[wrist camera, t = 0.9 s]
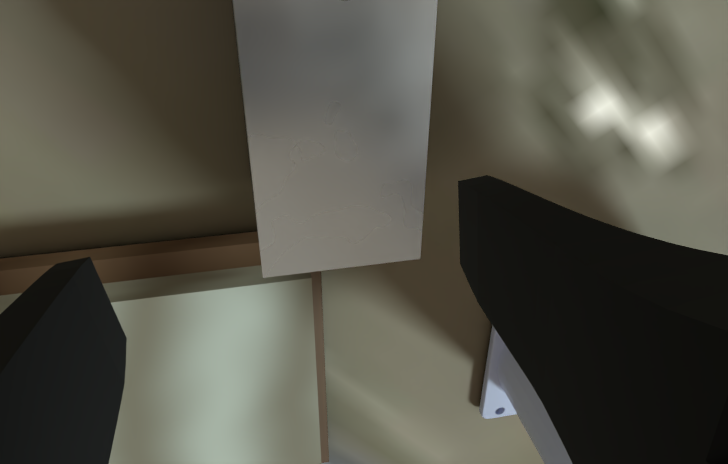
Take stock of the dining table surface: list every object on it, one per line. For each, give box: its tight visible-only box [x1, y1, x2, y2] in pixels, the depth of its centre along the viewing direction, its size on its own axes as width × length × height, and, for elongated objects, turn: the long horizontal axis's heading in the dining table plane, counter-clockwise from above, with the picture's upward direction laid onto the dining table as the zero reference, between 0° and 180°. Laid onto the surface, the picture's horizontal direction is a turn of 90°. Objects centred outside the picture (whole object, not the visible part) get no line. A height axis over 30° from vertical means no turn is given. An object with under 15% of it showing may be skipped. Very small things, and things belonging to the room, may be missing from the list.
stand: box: [0, 231, 329, 464], centre depth 23 cm, size 14×13×2 cm
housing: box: [232, 0, 438, 278], centre depth 16 cm, size 4×9×6 cm, turn 178°
